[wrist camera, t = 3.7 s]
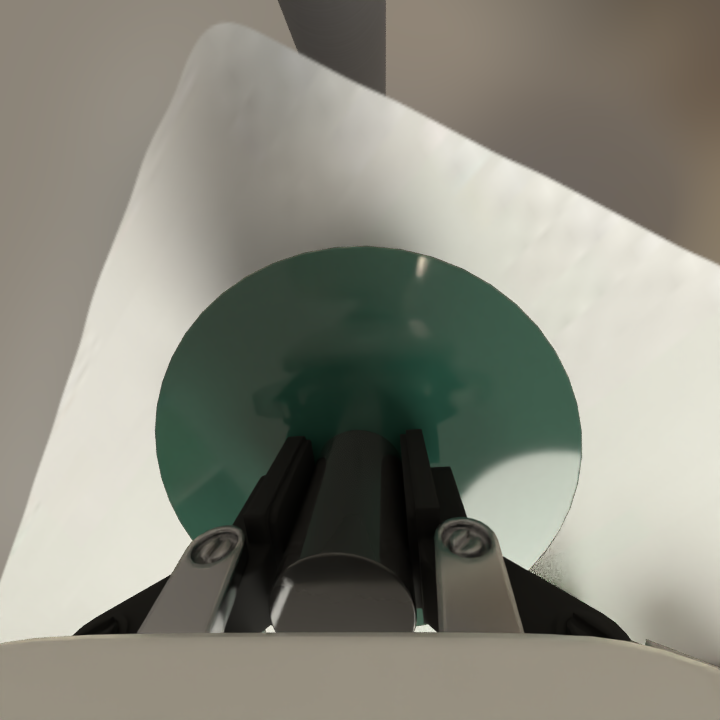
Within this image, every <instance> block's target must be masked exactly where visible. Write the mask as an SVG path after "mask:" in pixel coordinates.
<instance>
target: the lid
mask: <svg viewBox="0 0 720 720" xmlns="http://www.w3.org/2000/svg"><path fill="white" fill-rule="evenodd" d="M411 429H422V433H423V437H424V441H425V446H426V450H427V454H428V459H429V463H430V467H446V466H450V467H451V470H452V473H453V476H454V479H455V482H456V485H457V488H458V491H459V494H460V497H461V500H462V503H463V506H464V509H465V512H466V515H467V518H472V519H475V520H478V521H481V522H482V523H484V524H485V525H487V526H489V527H490V528H491V530H492V531H493V532H494V533H495V535H496V537H497V539H498V541H499V545H500V548H501V552H502V555H503V556H504V557H505V558H507V559H509V560H511V561H512V562H514V563H516V564H518V565H519V566H521V567H523V568H525V569H526V570H530V569H531V567H532V566H533V565H534V564H535V563H536V562H537V561H538V559H539V558H540V557H541V556H542V555H543V554H544V553H545V551H546V550H547V549H548V547H549V546H550V544H551V543H552V541H553V540H554V538H555V537H556V535H557V534H558V532H559V531H560V529H561V526H562V524H563V522H564V520H565V518H566V516H567V514H568V512H569V510H570V508H571V504H572V501H573V498H574V494H575V491H576V488H577V485H578V480H579V473H580V466H581V459H582V430H581V424H580V418H579V412H578V406H577V402H576V399H575V395H574V392H573V389H572V386H571V383H570V380H569V377H568V375H567V373H566V371H565V369H564V367H563V365H562V363H561V361H560V359H559V357H558V355H557V353H556V351H555V350H554V348H553V347H552V345H551V344H550V343H549V341H548V340H547V338H546V337H545V336H544V334H543V333H542V331H541V330H540V329H539V327H538V326H537V325H536V324H535V323H534V322H533V321H532V320H531V319H530V318H529V317H528V316H527V315H526V314H525V313H524V311H523V310H522V309H521V308H520V307H519V306H518V305H517V304H516V303H514V302H513V301H512V300H510V299H509V298H508V297H507V296H505V295H504V294H503V293H501V292H500V291H499V290H497V289H496V288H495V287H494V286H492V285H491V284H489V283H487V282H486V281H484V280H482V279H480V278H479V277H477V276H475V275H473V274H471V273H470V272H468V271H466V270H464V269H462V268H460V267H457V266H455V265H452V264H450V263H447V262H445V261H442V260H440V259H437V258H434V257H431V256H427V255H423V254H419V253H415V252H411V251H407V250H402V249H395V248H385V247H375V246H351V247H333V248H328V249H322V250H317V251H311V252H305V253H302V254H299V255H296V256H293V257H290V258H286V259H283V260H280V261H277V262H274V263H272V264H270V265H268V266H266V267H264V268H262V269H260V270H258V271H256V272H254V273H252V274H250V275H248V276H246V277H245V278H243V279H242V280H241V281H239V282H238V283H236V284H235V285H233V286H232V287H231V288H229V289H228V290H226V291H225V292H223V293H222V294H221V295H220V296H219V297H218V298H217V299H216V300H215V301H214V302H213V303H211V304H210V305H209V306H208V307H207V308H206V309H205V310H204V311H203V312H202V313H201V314H200V316H199V317H198V318H197V319H196V321H195V322H194V323H193V324H192V326H191V327H190V328H189V330H188V331H187V332H186V333H185V335H184V337H183V338H182V340H181V342H180V344H179V345H178V347H177V349H176V351H175V352H174V354H173V356H172V358H171V360H170V363H169V366H168V368H167V371H166V373H165V376H164V379H163V381H162V385H161V390H160V394H159V399H158V403H157V411H156V424H155V438H156V453H157V459H158V464H159V469H160V473H161V478H162V481H163V484H164V487H165V490H166V492H167V495H168V498H169V501H170V503H171V505H172V507H173V509H174V511H175V513H176V515H177V517H178V519H179V521H180V523H181V524H182V526H183V527H184V529H185V530H186V532H187V533H188V535H189V536H190V538H191V539H192V541H193V540H194V539H196V538H197V537H198V536H199V535H201V534H203V533H204V532H206V531H208V530H210V529H213V528H215V527H218V526H223V525H232V524H233V523H234V521H235V519H236V518H237V516H238V514H239V513H240V511H241V509H242V508H243V506H244V504H245V503H246V501H247V499H248V498H249V496H250V494H251V493H252V491H253V489H254V488H255V486H256V484H257V483H258V481H259V479H260V478H261V477H262V476H264V475H266V474H267V472H268V470H269V469H270V467H271V465H272V463H273V462H274V460H275V458H276V456H277V455H278V453H279V451H280V450H281V448H282V446H283V444H284V443H285V441H286V439H287V438H288V437H291V436H305V438H306V440H311V443H312V449H313V456H314V463H315V467H314V469H313V472H312V475H311V478H310V481H309V484H308V486H307V489H306V492H305V495H304V498H303V500H302V503H301V506H300V509H299V512H298V515H297V517H296V520H295V523H294V526H293V529H292V531H291V534H290V537H289V540H288V543H287V545H286V548H285V551H284V554H283V557H282V560H281V562H280V565H279V568H278V571H277V574H276V576H275V579H274V582H273V585H272V588H271V591H270V594H269V599H268V610H269V617H270V620H271V623H272V626H273V628H274V630H275V632H276V633H290V632H414V631H415V628H416V626H422V625H427V624H424V622H423V612H422V609H417V608H416V598H415V587H414V577H413V566H412V559H411V555H410V549H409V538H408V527H407V515H406V504H405V493H404V481H403V470H402V458H401V445H400V434H406V430H411Z"/></svg>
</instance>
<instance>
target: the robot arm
mask: <svg viewBox="0 0 720 720" xmlns="http://www.w3.org/2000/svg"><path fill="white" fill-rule="evenodd" d="M400 445H401V458H402V470H403V481H404V493H405V504H406V515H407V527H408V538H409V549H410V555H411V559H412V566H413V577H414V587H415V598H416V608H417V609H422V612H423V622H424V624H428V625H430V626H431V627H432V628H433V629H434V630H435V631H436V632H290V633H266V630H265V629H266V628H267V627H269V626H270V625H272V623H271V620H270V617H269V610H268V599H269V594H270V591H271V588H272V585H273V582H274V579H275V576H276V574H277V571H278V568H279V565H280V562H281V560H282V557H283V554H284V551H285V548H286V545H287V543H288V540H289V537H290V534H291V531H292V529H293V526H294V523H295V520H296V517H297V515H298V512H299V509H300V506H301V503H302V500H303V498H304V495H305V492H306V489H307V486H308V484H309V481H310V478H311V475H312V472H313V469H314V467H315V463H314V456H313V449H312V443H311V440H306V438H305V436H291V437H288V438H287V439H286V441H285V443H284V444H283V446H282V448H281V450H280V451H279V453H278V455H277V456H276V458H275V460H274V462H273V463H272V465H271V467H270V469H269V470H268V472H267V474H266V475H264V476H262V477H261V478H260V479H259V481H258V483H257V484H256V486H255V488H254V489H253V491H252V493H251V494H250V496H249V498H248V499H247V501H246V503H245V504H244V506H243V508H242V509H241V511H240V513H239V514H238V516H237V518H236V519H235V521H234V523H233V524H232V525H223V526H218V527H215V528H213V529H210V530H208V531H206V532H204V533H203V534H201V535H199V536H198V537H197V538H196V539H194V540H193V541H192V542H191V543H190V545H189V546H188V547H187V549H186V550H185V552H184V554H183V555H182V557H181V559H180V560H179V562H178V564H177V566H176V567H175V569H174V571H173V572H172V574H171V575H169V576H168V577H166V578H164V579H162V580H161V581H159V582H157V583H155V584H154V585H152V586H150V587H148V588H147V589H145V590H143V591H141V592H140V593H138V594H136V595H134V596H133V597H131V598H129V599H127V600H126V601H124V602H122V603H120V604H119V605H117V606H115V607H113V608H112V609H110V610H108V611H106V612H105V613H103V614H101V615H99V616H98V617H96V618H94V619H93V620H91V621H90V622H88V623H87V624H85V625H84V626H83V627H82V628H80V629H79V630H78V631H77V632H76V633H75V634H74V635H72V636H61V637H44V638H32V639H25V640H18V641H11V642H5V643H1V644H0V720H720V667H717V666H715V665H712V664H710V663H707V662H704V661H702V660H699V659H697V658H694V657H691V656H689V655H686V654H684V653H681V652H678V651H676V650H673V649H671V648H668V647H665V646H663V645H660V644H658V643H655V642H652V641H650V640H647V639H646V644H645V645H642V644H639V643H637V642H634V641H631V639H630V638H629V636H628V635H627V634H626V633H625V632H624V631H623V630H622V629H621V628H620V627H619V626H618V625H617V624H616V623H615V622H614V621H612V620H611V619H610V618H608V617H607V616H605V615H604V614H602V613H601V612H599V611H597V610H596V609H594V608H592V607H590V606H589V605H587V604H585V603H583V602H582V601H580V600H578V599H577V598H575V597H573V596H571V595H570V594H568V593H566V592H564V591H563V590H561V589H559V588H557V587H556V586H554V585H552V584H551V583H549V582H547V581H545V580H544V579H542V578H540V577H538V576H537V575H535V574H533V573H531V572H530V571H528V570H526V569H525V568H523V567H521V566H519V565H518V564H516V563H514V562H512V561H511V560H509V559H507V558H505V557H504V556H503V555H502V552H501V548H500V545H499V541H498V539H497V537H496V535H495V533H494V532H493V531H492V530H491V528H490V527H489V526H487V525H485V524H484V523H482V522H481V521H478V520H475V519H472V518H467V515H466V512H465V509H464V506H463V503H462V500H461V497H460V494H459V491H458V488H457V485H456V482H455V479H454V476H453V473H452V470H451V467H450V466H446V467H430V463H429V459H428V454H427V450H426V446H425V441H424V437H423V433H422V429H411V430H406V434H400Z"/></svg>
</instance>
